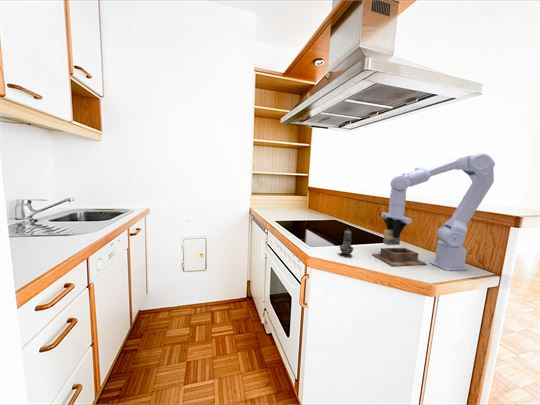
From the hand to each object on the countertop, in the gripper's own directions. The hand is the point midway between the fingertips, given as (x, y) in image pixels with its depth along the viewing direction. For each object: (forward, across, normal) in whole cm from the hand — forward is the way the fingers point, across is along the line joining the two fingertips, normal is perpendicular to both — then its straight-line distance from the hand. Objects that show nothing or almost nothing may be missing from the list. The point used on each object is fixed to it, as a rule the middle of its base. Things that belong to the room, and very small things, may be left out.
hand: (393, 236), depth 94 cm
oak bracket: (+3, 0, -1) cm, 3 cm away
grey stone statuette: (+9, -4, -19) cm, 21 cm away
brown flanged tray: (+9, +3, +1) cm, 10 cm away
